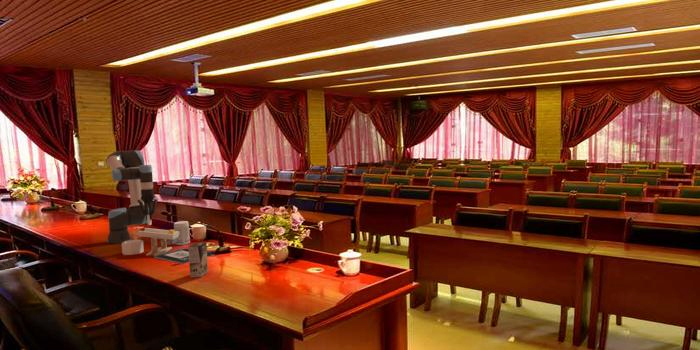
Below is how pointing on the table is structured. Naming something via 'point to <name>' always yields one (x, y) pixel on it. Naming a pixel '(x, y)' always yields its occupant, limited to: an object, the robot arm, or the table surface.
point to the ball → (171, 231)
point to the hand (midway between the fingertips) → (149, 224)
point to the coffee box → (198, 259)
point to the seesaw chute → (159, 234)
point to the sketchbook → (177, 256)
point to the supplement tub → (182, 232)
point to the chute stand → (160, 249)
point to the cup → (132, 247)
